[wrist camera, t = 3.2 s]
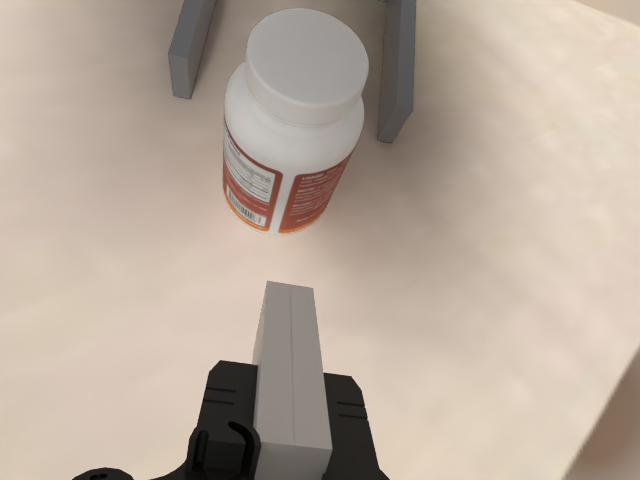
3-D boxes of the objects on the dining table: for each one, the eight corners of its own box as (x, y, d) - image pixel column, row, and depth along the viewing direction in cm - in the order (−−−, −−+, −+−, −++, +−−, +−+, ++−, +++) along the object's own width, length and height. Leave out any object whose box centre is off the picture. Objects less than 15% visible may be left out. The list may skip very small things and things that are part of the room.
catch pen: (392, 143, 30) (412, 109, 27) (173, 95, 28) (168, 53, 25) (399, -4, 36) (417, -46, 33) (215, -54, 34) (215, -104, 30)
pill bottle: (327, 152, 29) (387, 7, 19) (326, 243, 27) (393, 133, 17) (226, 139, 28) (233, -23, 18) (216, 233, 26) (218, 108, 16)
